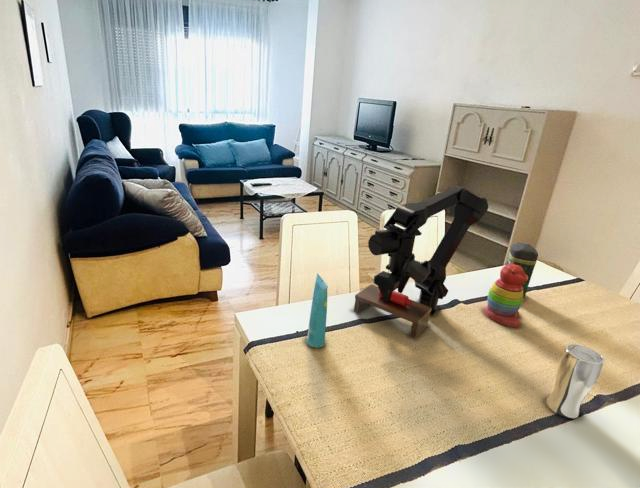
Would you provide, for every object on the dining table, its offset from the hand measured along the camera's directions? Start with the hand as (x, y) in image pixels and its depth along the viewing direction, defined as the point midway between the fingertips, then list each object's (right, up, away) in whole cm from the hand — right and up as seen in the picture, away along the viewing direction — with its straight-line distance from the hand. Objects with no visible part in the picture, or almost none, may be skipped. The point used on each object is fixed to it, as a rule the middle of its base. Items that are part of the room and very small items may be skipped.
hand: (393, 298), depth 115 cm
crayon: (0, -1, 0) cm, 1 cm away
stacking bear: (+36, -7, +7) cm, 38 cm away
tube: (-24, -11, -11) cm, 28 cm away
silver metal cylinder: (+30, -21, -29) cm, 46 cm away
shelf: (0, -7, +3) cm, 7 cm away
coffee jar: (+48, -2, +21) cm, 52 cm away
